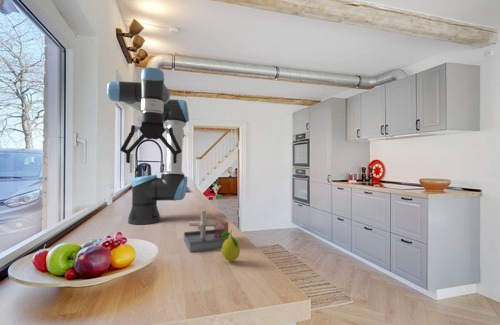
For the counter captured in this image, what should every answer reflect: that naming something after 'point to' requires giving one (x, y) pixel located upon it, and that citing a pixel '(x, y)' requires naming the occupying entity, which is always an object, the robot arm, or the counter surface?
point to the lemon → (230, 247)
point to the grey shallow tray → (207, 237)
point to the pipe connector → (203, 224)
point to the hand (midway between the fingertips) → (152, 172)
